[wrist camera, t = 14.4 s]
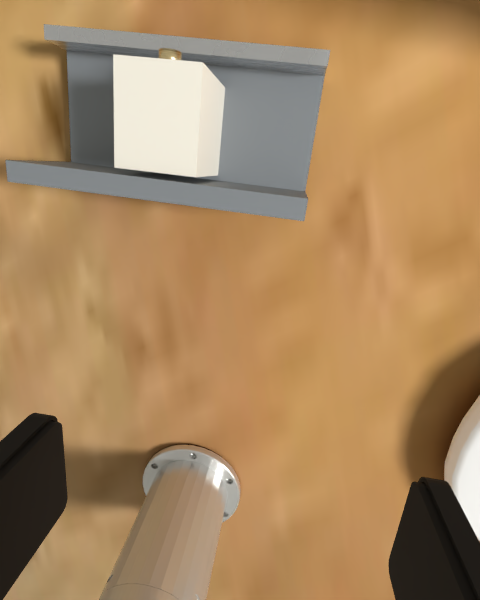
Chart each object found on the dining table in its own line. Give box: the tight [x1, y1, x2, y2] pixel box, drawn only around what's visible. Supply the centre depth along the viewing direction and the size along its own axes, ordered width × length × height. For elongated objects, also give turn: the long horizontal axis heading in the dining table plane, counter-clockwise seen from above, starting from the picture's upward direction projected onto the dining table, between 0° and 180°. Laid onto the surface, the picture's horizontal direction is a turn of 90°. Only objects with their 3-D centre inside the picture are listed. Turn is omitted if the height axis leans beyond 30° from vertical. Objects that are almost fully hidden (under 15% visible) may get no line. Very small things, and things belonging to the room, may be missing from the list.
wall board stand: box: [6, 24, 330, 221], centre depth 29 cm, size 12×22×10 cm, turn 83°
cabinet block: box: [113, 48, 225, 177], centre depth 29 cm, size 8×6×8 cm
